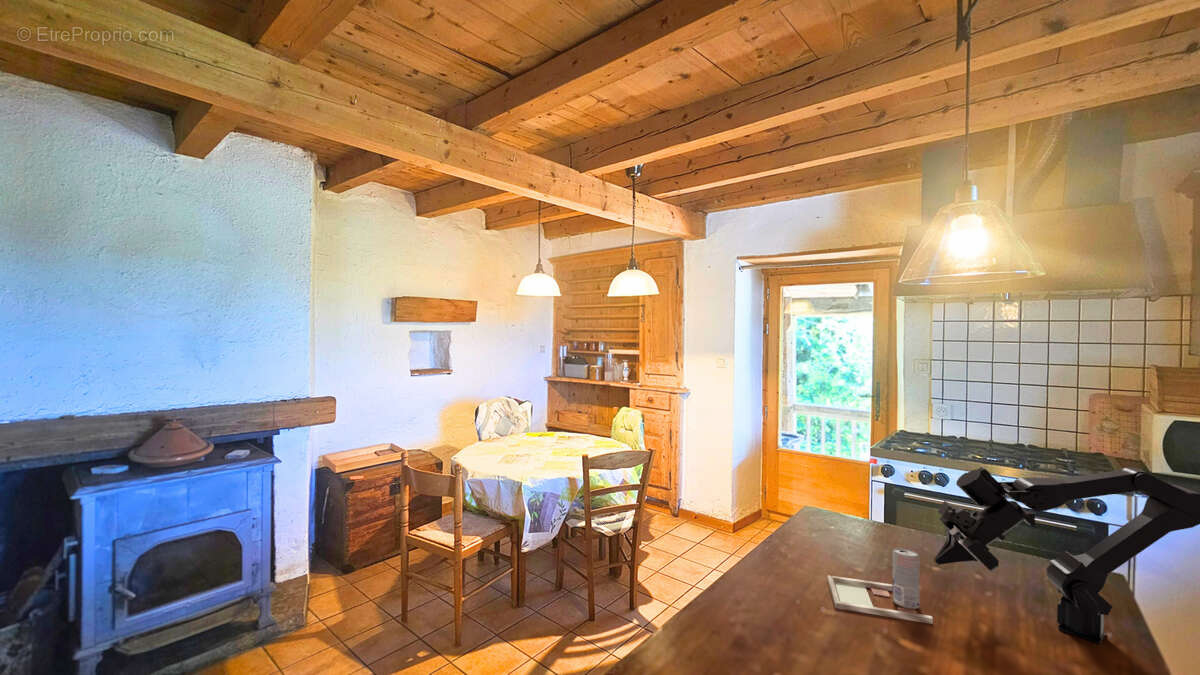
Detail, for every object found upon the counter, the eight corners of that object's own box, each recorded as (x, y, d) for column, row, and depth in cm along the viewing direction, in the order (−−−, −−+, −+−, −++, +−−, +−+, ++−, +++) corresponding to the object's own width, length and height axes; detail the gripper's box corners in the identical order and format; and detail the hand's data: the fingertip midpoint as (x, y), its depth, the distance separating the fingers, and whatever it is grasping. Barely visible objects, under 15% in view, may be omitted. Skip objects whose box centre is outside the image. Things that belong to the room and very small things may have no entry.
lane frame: (914, 592, 122) (914, 587, 122) (932, 623, 109) (932, 618, 109) (827, 579, 128) (827, 575, 128) (835, 608, 115) (835, 602, 115)
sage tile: (865, 587, 124) (865, 586, 124) (875, 612, 113) (875, 611, 113) (834, 582, 127) (834, 582, 127) (841, 606, 115) (841, 606, 115)
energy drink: (911, 599, 119) (911, 548, 119) (924, 610, 113) (923, 557, 114) (888, 597, 119) (888, 547, 120) (899, 608, 114) (899, 555, 115)
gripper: (949, 481, 122) (898, 520, 125) (981, 506, 104) (920, 550, 107) (987, 517, 119) (933, 556, 123) (1026, 549, 101) (962, 593, 105)
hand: (936, 562), depth 115 cm, fingers closed
